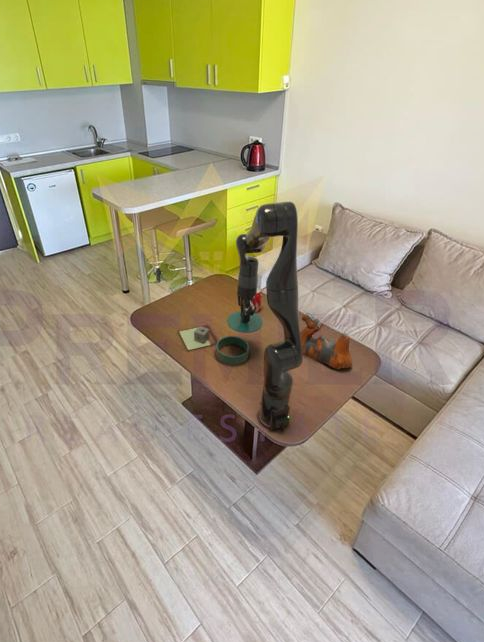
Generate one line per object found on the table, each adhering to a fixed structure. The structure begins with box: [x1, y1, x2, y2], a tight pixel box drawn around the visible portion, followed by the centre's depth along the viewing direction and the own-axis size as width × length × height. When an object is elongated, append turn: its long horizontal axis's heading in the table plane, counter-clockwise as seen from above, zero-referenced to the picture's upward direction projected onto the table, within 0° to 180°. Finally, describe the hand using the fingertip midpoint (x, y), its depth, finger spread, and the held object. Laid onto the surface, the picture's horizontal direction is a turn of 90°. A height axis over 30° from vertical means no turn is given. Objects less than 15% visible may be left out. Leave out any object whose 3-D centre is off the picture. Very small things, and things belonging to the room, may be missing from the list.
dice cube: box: [194, 325, 210, 344], centre depth 165 cm, size 5×5×5 cm
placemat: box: [178, 327, 212, 351], centre depth 168 cm, size 14×14×1 cm
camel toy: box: [300, 312, 353, 370], centre depth 154 cm, size 25×13×17 cm, turn 37°
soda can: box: [253, 286, 263, 313], centre depth 184 cm, size 7×7×12 cm
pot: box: [215, 335, 250, 366], centre depth 157 cm, size 14×14×5 cm
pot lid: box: [226, 309, 264, 334], centre depth 151 cm, size 15×15×7 cm
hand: (244, 319), depth 152 cm, fingers closed on pot lid, 3 cm apart
